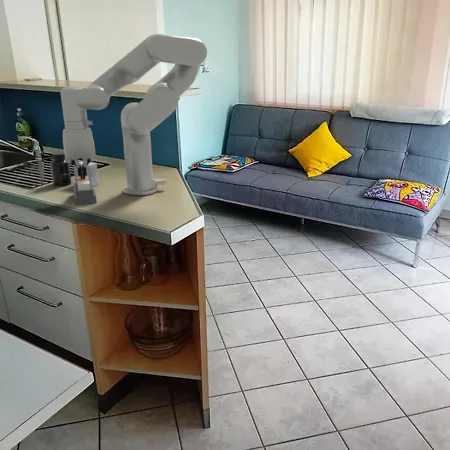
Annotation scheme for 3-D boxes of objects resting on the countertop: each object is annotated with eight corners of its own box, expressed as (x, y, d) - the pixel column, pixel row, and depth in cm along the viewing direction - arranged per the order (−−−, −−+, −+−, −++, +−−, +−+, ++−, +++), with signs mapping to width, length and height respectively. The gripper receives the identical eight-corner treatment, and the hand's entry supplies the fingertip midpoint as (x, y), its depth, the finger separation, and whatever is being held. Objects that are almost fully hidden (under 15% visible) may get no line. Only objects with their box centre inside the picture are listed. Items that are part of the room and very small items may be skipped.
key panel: (93, 192, 172) (92, 180, 170) (96, 202, 161) (95, 190, 160) (73, 194, 170) (72, 182, 168) (75, 204, 159) (73, 192, 158)
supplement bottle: (66, 187, 179) (62, 155, 175) (49, 185, 180) (45, 155, 176) (75, 182, 185) (71, 151, 181) (59, 181, 186) (55, 151, 182)
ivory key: (89, 188, 164) (89, 180, 163) (90, 191, 161) (89, 183, 160) (78, 189, 163) (77, 181, 162) (78, 193, 160) (77, 184, 158)
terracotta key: (88, 184, 169) (87, 176, 168) (89, 187, 166) (88, 179, 165) (77, 185, 168) (76, 177, 167) (77, 188, 164) (76, 180, 163)
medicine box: (99, 185, 181) (97, 163, 178) (92, 188, 178) (89, 165, 175) (83, 182, 184) (80, 161, 181) (75, 185, 181) (72, 163, 178)
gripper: (98, 122, 165) (103, 173, 171) (53, 124, 160) (60, 177, 167) (100, 125, 158) (105, 178, 165) (53, 128, 153) (60, 182, 160)
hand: (82, 177), depth 166 cm, fingers closed
